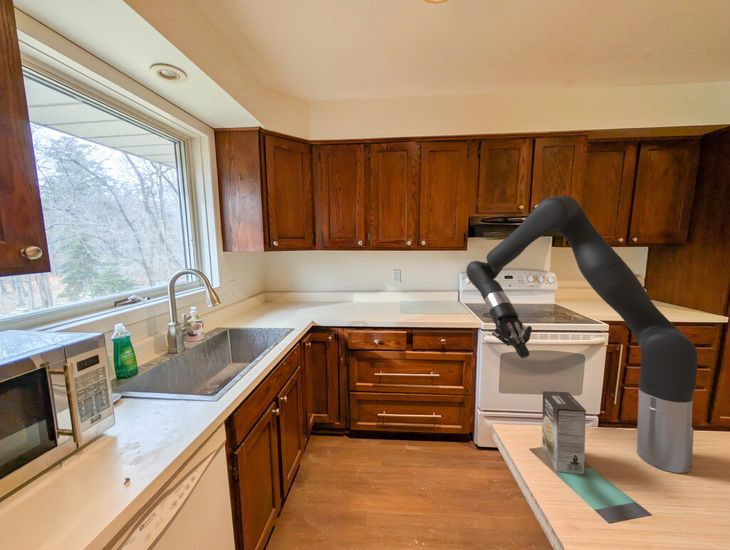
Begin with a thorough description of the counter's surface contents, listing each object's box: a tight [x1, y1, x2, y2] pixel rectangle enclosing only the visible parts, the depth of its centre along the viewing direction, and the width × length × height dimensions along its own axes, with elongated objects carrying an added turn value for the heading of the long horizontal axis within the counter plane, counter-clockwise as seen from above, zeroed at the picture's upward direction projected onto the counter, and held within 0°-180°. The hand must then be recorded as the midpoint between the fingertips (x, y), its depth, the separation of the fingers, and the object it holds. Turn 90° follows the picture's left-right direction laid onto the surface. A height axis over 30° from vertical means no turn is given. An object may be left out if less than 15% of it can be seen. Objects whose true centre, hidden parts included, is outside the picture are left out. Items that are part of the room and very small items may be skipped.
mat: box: [528, 446, 653, 524], centre depth 68 cm, size 10×22×1 cm, turn 9°
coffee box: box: [541, 390, 587, 474], centre depth 73 cm, size 9×6×16 cm
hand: (525, 356), depth 85 cm, fingers closed
